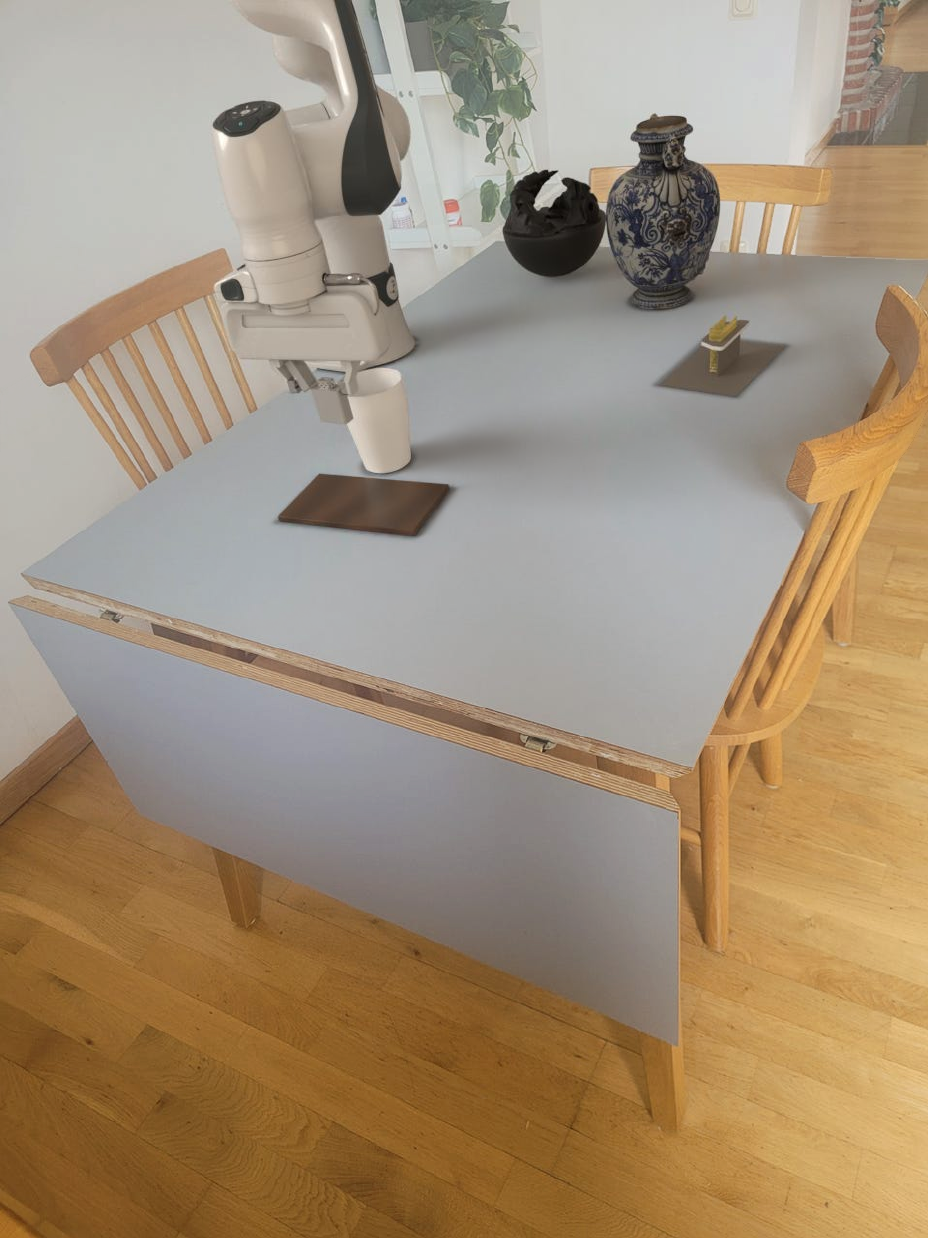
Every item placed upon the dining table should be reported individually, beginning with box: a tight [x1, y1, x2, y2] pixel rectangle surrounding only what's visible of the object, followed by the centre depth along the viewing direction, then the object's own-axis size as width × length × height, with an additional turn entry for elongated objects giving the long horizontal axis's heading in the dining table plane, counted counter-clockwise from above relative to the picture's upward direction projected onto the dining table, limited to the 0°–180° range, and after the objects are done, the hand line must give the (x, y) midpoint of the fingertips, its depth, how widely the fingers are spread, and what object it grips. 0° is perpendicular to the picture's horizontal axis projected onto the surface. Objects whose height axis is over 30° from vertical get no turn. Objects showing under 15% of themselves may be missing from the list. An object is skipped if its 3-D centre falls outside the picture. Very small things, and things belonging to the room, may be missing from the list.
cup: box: [346, 367, 412, 474], centre depth 116 cm, size 9×9×12 cm
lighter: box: [284, 360, 354, 425], centre depth 102 cm, size 7×2×8 cm, turn 59°
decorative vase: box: [605, 112, 721, 311], centre depth 142 cm, size 21×19×28 cm
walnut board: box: [277, 473, 450, 537], centre depth 111 cm, size 20×11×1 cm, turn 67°
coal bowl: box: [501, 169, 606, 278], centre depth 164 cm, size 20×20×19 cm
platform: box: [658, 315, 785, 397], centre depth 125 cm, size 12×18×7 cm, turn 143°
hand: (322, 392), depth 102 cm, fingers closed on lighter, 6 cm apart
